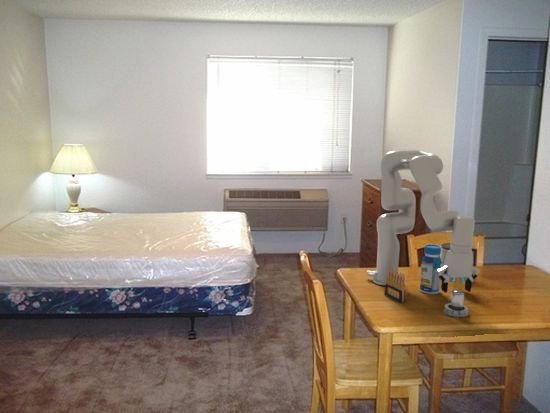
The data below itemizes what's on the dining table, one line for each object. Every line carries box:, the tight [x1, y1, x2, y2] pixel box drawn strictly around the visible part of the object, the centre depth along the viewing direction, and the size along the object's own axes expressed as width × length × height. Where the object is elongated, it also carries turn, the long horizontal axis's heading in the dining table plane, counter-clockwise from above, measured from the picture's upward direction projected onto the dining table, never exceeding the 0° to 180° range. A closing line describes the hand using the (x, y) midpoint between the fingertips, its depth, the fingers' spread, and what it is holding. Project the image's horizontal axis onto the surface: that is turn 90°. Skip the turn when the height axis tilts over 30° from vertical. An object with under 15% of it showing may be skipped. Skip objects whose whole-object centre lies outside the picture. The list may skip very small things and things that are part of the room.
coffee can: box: [440, 242, 451, 276], centre depth 243 cm, size 10×10×14 cm
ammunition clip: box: [384, 268, 406, 304], centre depth 209 cm, size 11×2×12 cm, turn 26°
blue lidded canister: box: [419, 243, 442, 295], centre depth 218 cm, size 8×8×20 cm
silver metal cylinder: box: [450, 289, 465, 310], centre depth 195 cm, size 5×5×8 cm
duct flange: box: [443, 302, 469, 319], centre depth 196 cm, size 9×9×2 cm
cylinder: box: [448, 278, 475, 294], centre depth 219 cm, size 12×10×15 cm
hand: (455, 290), depth 195 cm, fingers open, 9 cm apart
